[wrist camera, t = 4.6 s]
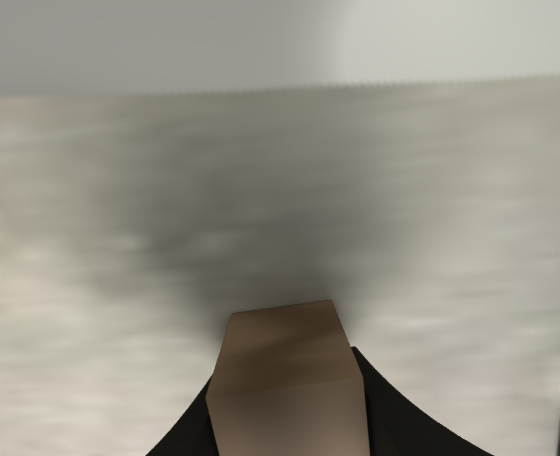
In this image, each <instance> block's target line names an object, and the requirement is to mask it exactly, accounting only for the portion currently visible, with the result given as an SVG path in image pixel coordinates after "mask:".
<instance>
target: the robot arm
mask: <svg viewBox="0 0 560 456" xmlns="http://www.w3.org/2000/svg"><path fill="white" fill-rule="evenodd" d="M351 349H352V352H353V354H354V357H355V359H356V361H357V364H358V366H359V369H360V371H361V374H362V376H363V382H364V393H365V405H366V416H367V427H368V438H369V450H370V456H494V455H492V454H490V453H488V452H486V451H484V450H482V449H480V448H479V447H477V446H475V445H473V444H472V443H470V442H468V441H467V440H465V439H463V438H461V437H460V436H458V435H457V434H455V433H453V432H452V431H450V430H449V429H447V428H446V427H444V426H443V425H441V424H440V423H438V422H437V421H435V420H434V419H432V418H431V417H430V416H428V415H427V414H426V413H424V412H423V411H422V410H420V409H419V408H418V407H417V406H415V405H414V404H413V403H412V402H410V401H409V400H408V399H407V398H406V397H404V396H403V395H402V394H401V393H400V392H399V391H398V390H396V389H395V388H394V387H393V386H392V385H391V384H390V383H389V382H388V381H387V380H386V379H385V378H384V377H383V376H382V375H381V374H380V373H379V372H378V371H377V370H376V369H375V368H374V367H373V366H372V365H371V364H370V363H369V362H368V360H367V359H366V358H365V357H364V356H363V355H362V354H361V352H360V351H359V350H358V349H357V348H356V347H355V346H354V347H351ZM212 375H213V374H212ZM211 378H212V376H211V377H210V379H209V380H208V381H207V383H206V384H205V386H204V387H203V389H202V390H201V391H200V393H199V394H198V395H197V397H196V398H195V400H194V401H193V402H192V404H191V405H190V406H189V408H188V409H187V410H186V411H185V413H184V414H183V415H182V416H181V418H180V419H179V420H178V421H177V423H176V424H175V425H174V426H173V427H172V428H171V430H170V431H169V432H168V433H167V434H166V435H165V436H164V437H163V438H162V439H161V440H160V442H159V443H158V444H157V445H156V446H155V447H154V448H153V449H152V450H151V451H150V452H149V453H148V454H147V455H146V456H220V455H219V451H218V447H217V443H216V439H215V435H214V431H213V427H212V423H211V419H210V415H209V410H208V406H207V402H206V394H207V391H208V388H209V385H210V382H211Z"/></svg>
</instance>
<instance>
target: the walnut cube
mask: <svg viewBox="0 0 560 456" xmlns="http://www.w3.org/2000/svg"><path fill="white" fill-rule="evenodd" d="M206 402H207V406H208V410H209V415H210V419H211V423H212V427H213V431H214V435H215V439H216V443H217V447H218V451H219V455H220V456H370V450H369V438H368V427H367V416H366V405H365V393H364V382H363V376H362V374H361V371H360V369H359V366H358V364H357V361H356V359H355V357H354V354H353V352H352V349H351V347H350V344H349V342H348V339H347V337H346V335H345V332H344V330H343V327H342V325H341V322H340V320H339V317H338V315H337V313H336V310H335V308H334V305H333V303H332V300H327V301H320V302H313V303H305V304H298V305H291V306H283V307H276V308H269V309H261V310H254V311H247V312H239V313H232V315H231V318H230V321H229V324H228V327H227V331H226V334H225V337H224V340H223V343H222V347H221V350H220V353H219V356H218V359H217V363H216V366H215V369H214V372H213V375H212V378H211V382H210V385H209V388H208V391H207V394H206Z"/></svg>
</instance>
